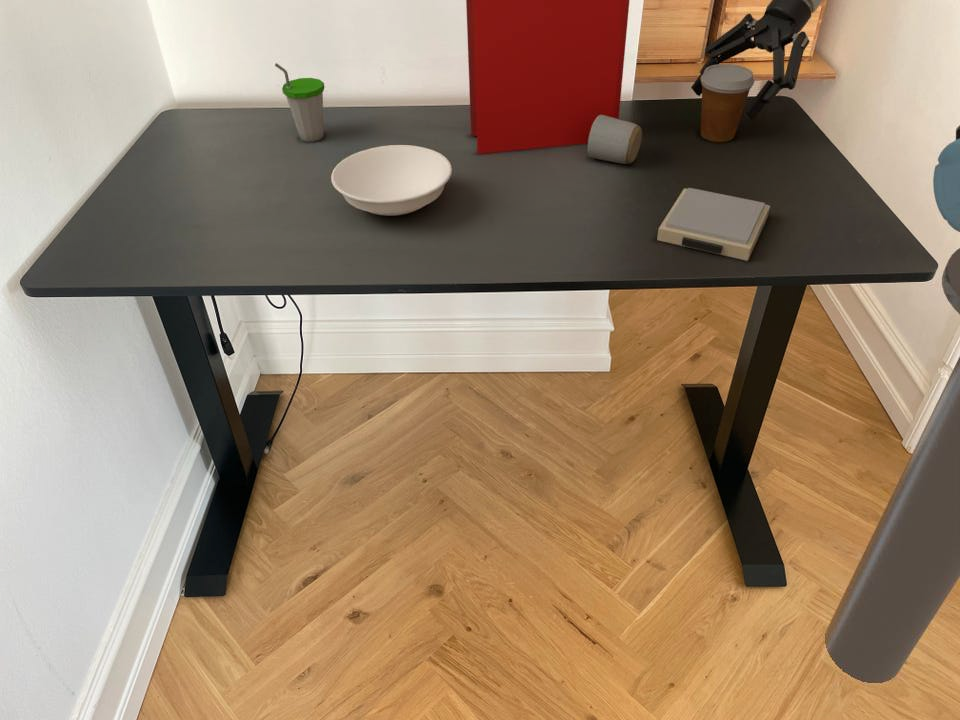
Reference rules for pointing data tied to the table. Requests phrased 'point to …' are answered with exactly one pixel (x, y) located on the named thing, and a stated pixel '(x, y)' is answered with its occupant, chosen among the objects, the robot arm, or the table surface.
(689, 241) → the scale
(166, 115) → the table surface
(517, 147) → the book
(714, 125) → the disposable coffee cup
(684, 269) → the table surface
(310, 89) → the cup
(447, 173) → the bowl
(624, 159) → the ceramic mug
